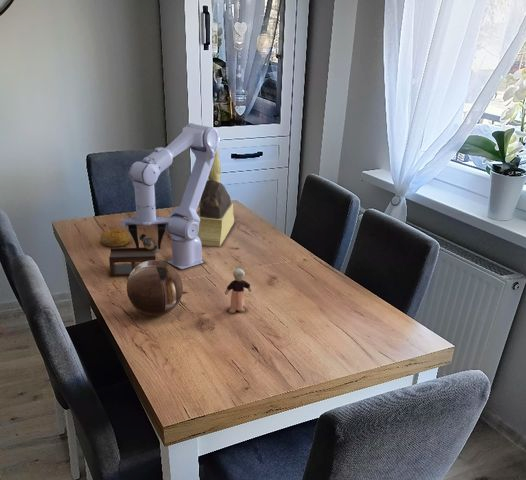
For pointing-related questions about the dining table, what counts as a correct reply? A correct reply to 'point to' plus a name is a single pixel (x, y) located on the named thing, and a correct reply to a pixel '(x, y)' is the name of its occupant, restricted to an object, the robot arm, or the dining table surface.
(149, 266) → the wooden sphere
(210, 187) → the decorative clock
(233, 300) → the grandmother figurine
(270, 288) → the dining table surface
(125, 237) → the bagel
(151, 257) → the shelf
